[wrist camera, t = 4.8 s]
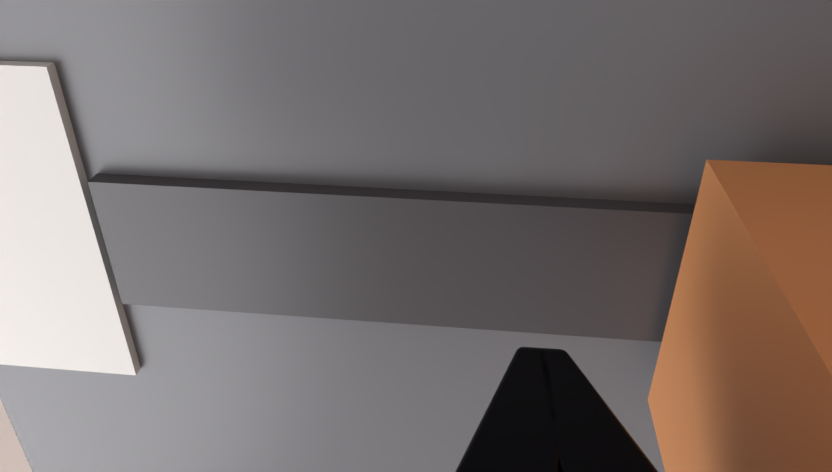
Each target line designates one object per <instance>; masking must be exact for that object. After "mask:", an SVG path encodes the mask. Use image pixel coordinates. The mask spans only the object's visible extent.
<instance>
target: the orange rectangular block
mask: <svg viewBox="0 0 832 472" xmlns="http://www.w3.org/2000/svg"><path fill="white" fill-rule="evenodd" d="M648 403H649V407H650V412H651V416H652V420H653V424H654V428H655V432H656V436H657V441H658V445H659V449H660V453H661V457H662V461H663V465H664V469H665V472H832V165H815V164H793V163H771V162H749V161H727V160H706V164H705V168H704V172H703V176H702V180H701V184H700V188H699V192H698V196H697V200H696V205H695V209H694V213H693V217H692V221H691V225H690V229H689V233H688V237H687V241H686V245H685V249H684V253H683V257H682V262H681V266H680V270H679V274H678V278H677V282H676V286H675V290H674V294H673V298H672V302H671V306H670V310H669V314H668V319H667V323H666V327H665V331H664V335H663V339H662V343H661V347H660V351H659V355H658V359H657V363H656V367H655V372H654V376H653V380H652V384H651V388H650V392H649V396H648Z"/></svg>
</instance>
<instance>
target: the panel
mask: <svg viewBox="0 0 832 472" xmlns="http://www.w3.org/2000/svg"><path fill="white" fill-rule="evenodd" d="M706 160H727V161H749V162H771V163H793V164H815V165H832V0H0V399H1V401H2V403H3V406H4V408H5V410H6V413H7V415H8V417H9V419H10V422H11V424H12V426H13V428H14V431H15V433H16V435H17V437H18V440H19V442H20V444H21V446H22V449H23V451H24V453H25V455H26V458H27V460H28V462H29V465H30V467H31V469H32V471H33V472H455V471H456V469H457V467H458V465H459V463H460V461H461V459H462V457H463V455H464V453H465V451H466V449H467V447H468V445H469V443H470V441H471V439H472V437H473V435H474V433H475V431H476V429H477V427H478V425H479V423H480V421H481V419H482V417H483V415H484V413H485V411H486V409H487V408H488V406H489V404H490V402H491V400H492V398H493V396H494V394H495V392H496V390H497V388H498V386H499V384H500V382H501V380H502V378H503V376H504V374H505V372H506V370H507V368H508V366H509V364H510V362H511V360H512V358H513V356H514V354H515V352H516V350H517V349H518V348H520V347H535V348H552V349H562V350H565V351H566V352H567V353H568V354H569V355H570V357H571V358H572V359H573V360H574V362H575V363H576V364H577V366H578V367H579V368H580V370H581V371H582V372H583V374H584V375H585V376H586V378H587V379H588V380H589V381H590V383H591V384H592V385H593V387H594V388H595V389H596V391H597V392H598V393H599V395H600V396H601V397H602V399H603V400H604V401H605V402H606V404H607V405H608V406H609V408H610V409H611V410H612V412H613V413H614V414H615V416H616V417H617V418H618V419H619V421H620V422H621V423H622V425H623V426H624V427H625V429H626V430H627V431H628V433H629V434H630V435H631V437H632V438H633V439H634V440H635V442H636V443H637V444H638V446H639V447H640V448H641V450H642V451H643V452H644V454H645V455H646V456H647V458H648V459H649V460H650V461H651V463H652V464H653V465H654V467H655V468H656V469H657V471H658V472H665V469H664V465H663V461H662V457H661V453H660V449H659V445H658V441H657V436H656V432H655V428H654V424H653V420H652V416H651V412H650V407H649V403H648V396H649V392H650V388H651V384H652V380H653V376H654V372H655V367H656V363H657V359H658V355H659V351H660V347H661V343H662V339H663V335H664V331H665V327H666V323H667V319H668V314H669V310H670V306H671V302H672V298H673V294H674V290H675V286H676V282H677V278H678V274H679V270H680V266H681V262H682V257H683V253H684V249H685V245H686V241H687V237H688V233H689V229H690V225H691V221H692V217H693V213H694V209H695V205H696V200H697V196H698V192H699V188H700V184H701V180H702V176H703V172H704V168H705V164H706Z"/></svg>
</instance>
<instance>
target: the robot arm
mask: <svg viewBox="0 0 832 472" xmlns="http://www.w3.org/2000/svg"><path fill="white" fill-rule="evenodd" d="M455 472H658V471H657V469H656V468H655V467H654V465H653V464H652V463H651V461H650V460H649V459H648V458H647V456H646V455H645V454H644V452H643V451H642V450H641V448H640V447H639V446H638V444H637V443H636V442H635V440H634V439H633V438H632V437H631V435H630V434H629V433H628V431H627V430H626V429H625V427H624V426H623V425H622V423H621V422H620V421H619V419H618V418H617V417H616V416H615V414H614V413H613V412H612V410H611V409H610V408H609V406H608V405H607V404H606V402H605V401H604V400H603V399H602V397H601V396H600V395H599V393H598V392H597V391H596V389H595V388H594V387H593V385H592V384H591V383H590V381H589V380H588V379H587V378H586V376H585V375H584V374H583V372H582V371H581V370H580V368H579V367H578V366H577V364H576V363H575V362H574V360H573V359H572V358H571V357H570V355H569V354H568V353H567V352H566V351H565V350H562V349H552V348H535V347H520V348H518V349H517V350H516V352H515V354H514V356H513V358H512V360H511V362H510V364H509V366H508V368H507V370H506V372H505V374H504V376H503V378H502V380H501V382H500V384H499V386H498V388H497V390H496V392H495V394H494V396H493V398H492V400H491V402H490V404H489V406H488V408H487V409H486V411H485V413H484V415H483V417H482V419H481V421H480V423H479V425H478V427H477V429H476V431H475V433H474V435H473V437H472V439H471V441H470V443H469V445H468V447H467V449H466V451H465V453H464V455H463V457H462V459H461V461H460V463H459V465H458V467H457V469H456V471H455Z"/></svg>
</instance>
